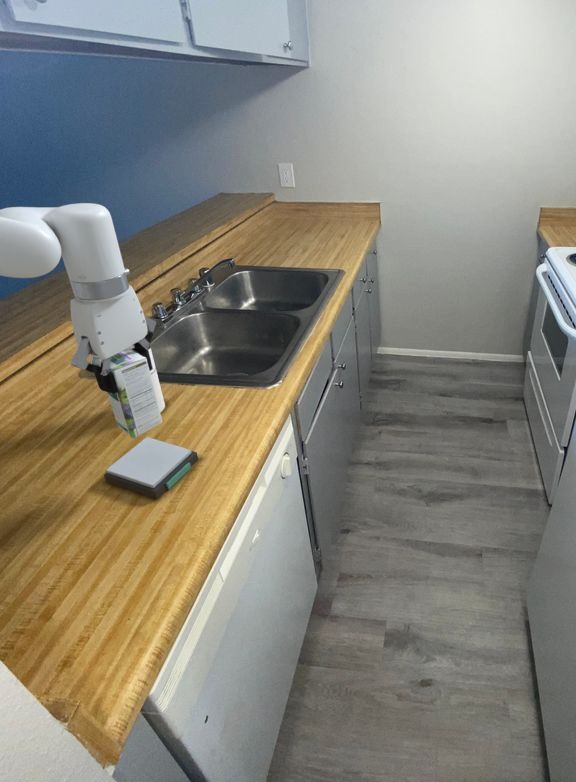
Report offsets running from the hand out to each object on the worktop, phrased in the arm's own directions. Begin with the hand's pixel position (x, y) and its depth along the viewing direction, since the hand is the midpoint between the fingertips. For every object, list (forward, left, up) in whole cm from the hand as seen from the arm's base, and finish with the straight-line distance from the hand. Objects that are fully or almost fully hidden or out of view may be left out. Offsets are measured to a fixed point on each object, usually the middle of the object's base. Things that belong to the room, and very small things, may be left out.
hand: (127, 379), depth 82 cm
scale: (0, 0, -22) cm, 22 cm away
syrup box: (0, 0, -10) cm, 10 cm away
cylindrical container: (-16, +15, -22) cm, 31 cm away
